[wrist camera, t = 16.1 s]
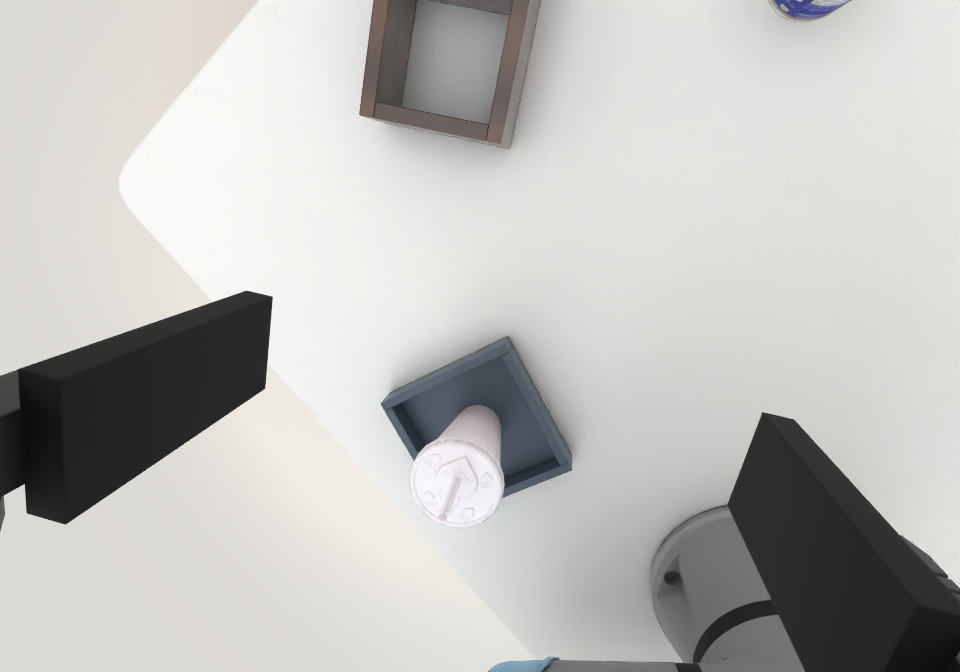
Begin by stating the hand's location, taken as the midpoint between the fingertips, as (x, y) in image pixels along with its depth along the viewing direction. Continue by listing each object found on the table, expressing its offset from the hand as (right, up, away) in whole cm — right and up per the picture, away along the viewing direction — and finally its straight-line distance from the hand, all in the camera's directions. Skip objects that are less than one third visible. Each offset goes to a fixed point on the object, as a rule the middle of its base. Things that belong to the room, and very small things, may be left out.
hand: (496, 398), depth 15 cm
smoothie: (-1, -6, +32) cm, 32 cm away
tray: (0, -6, +32) cm, 32 cm away
